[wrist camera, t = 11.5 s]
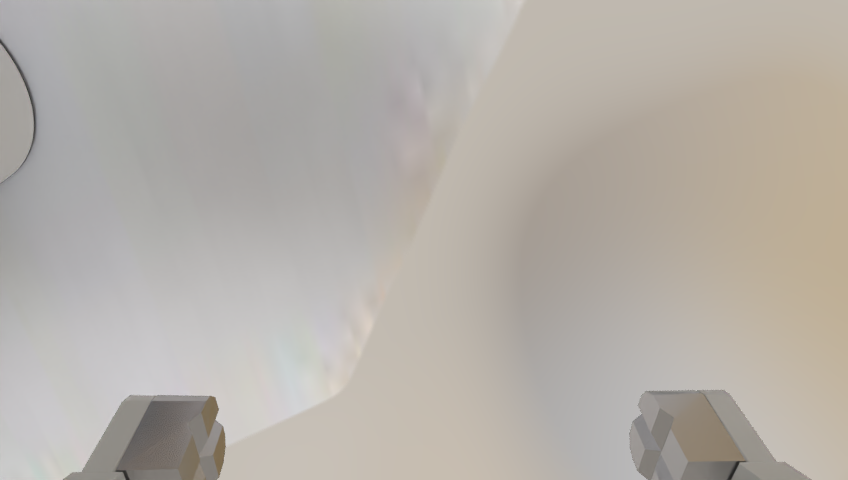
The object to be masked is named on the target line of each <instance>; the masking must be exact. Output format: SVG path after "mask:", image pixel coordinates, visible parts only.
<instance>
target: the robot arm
mask: <svg viewBox="0 0 848 480" xmlns="http://www.w3.org/2000/svg"><path fill="white" fill-rule="evenodd" d="M33 132H34V118H33V110H32V105H31V101H30V97H29V94H28V91H27V88H26V86H25V83H24V81H23V79H22V77H21V75H20V73H19V71H18V69H17V67H16V65H15V64H14V62H13V61H12V59H11V57H10V56H9V54H8V53H7V52H6V50H5V49H4V48H3V46H2V45H1V44H0V183H2V182H3V181H4V180H6V179H7V178H8V177H10V176H11V175H12V174H13V173H14V172H15V171H17V170H18V168H19V167H20V166H21V165H22V163H23V162H24V160H25V159H26V157H27V155H28V153H29V150H30V148H31V144H32V140H33ZM638 406H639V408H640V411H641V413H642V414H641V415H640V416H639V417H638V418H636V419H635V420H634V421H633V422H632V426H631V430H630V450H631V454H632V458H633V461H634V463H635V466H636V468H637V471H638V472H639V473H641V474H642V475H643V476H644V477H645V478H646V479H648V480H811V479H810V478H808V477H807V476H805V475H804V474H802V473H801V472H799V471H797V470H796V469H795V468H793V467H792V466H790V465H789V464H787V463H786V462H777V461H776V460H775V459H774V457H773V456H772V454H771V453H770V451H769V450H768V448H767V447H766V446H765V444H764V443H763V441H762V440H761V438H760V437H759V436H758V434H757V433H756V431H755V430H754V428H753V427H752V425H751V424H750V422H749V421H748V420H747V418H746V417H745V415H744V414H743V412H742V411H741V410H740V408H739V407H738V405H737V404H736V402H735V401H734V399H733V398H732V396H731V395H730V394H729V393H727V392H726V391H724V390H698V391H694V390H685V391H683V390H682V391H646V392H645V393H644V394H642V395H641V398H640V401H639V404H638ZM218 411H219V408H218V405H217V402H216V398H215V397H212V396H179V395H157V396H153V395H130V396H129V397H127V398H126V399H125V400H124V401H123V402H122V403H121V405H120V407H119V408H118V410H117V412H116V413H115V415H114V417H113V419H112V420H111V422H110V424H109V425H108V427H107V429H106V431H105V432H104V434H103V436H102V437H101V439H100V441H99V443H98V444H97V446H96V448H95V450H94V451H93V453H92V455H91V456H90V458H89V460H88V462H87V463H86V465H85V467H84V468H83V470H82V472H73V473H71V474H70V475H68V476H67V477H66V478H64V479H63V480H217V479H218V478H219V475H220V472H221V469H222V465H223V461H224V455H225V447H226V446H225V433H224V429H223V426H222V425H221V424H220V423H218V422H217V421H216V420H215V419H216V416H217V413H218Z"/></svg>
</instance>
